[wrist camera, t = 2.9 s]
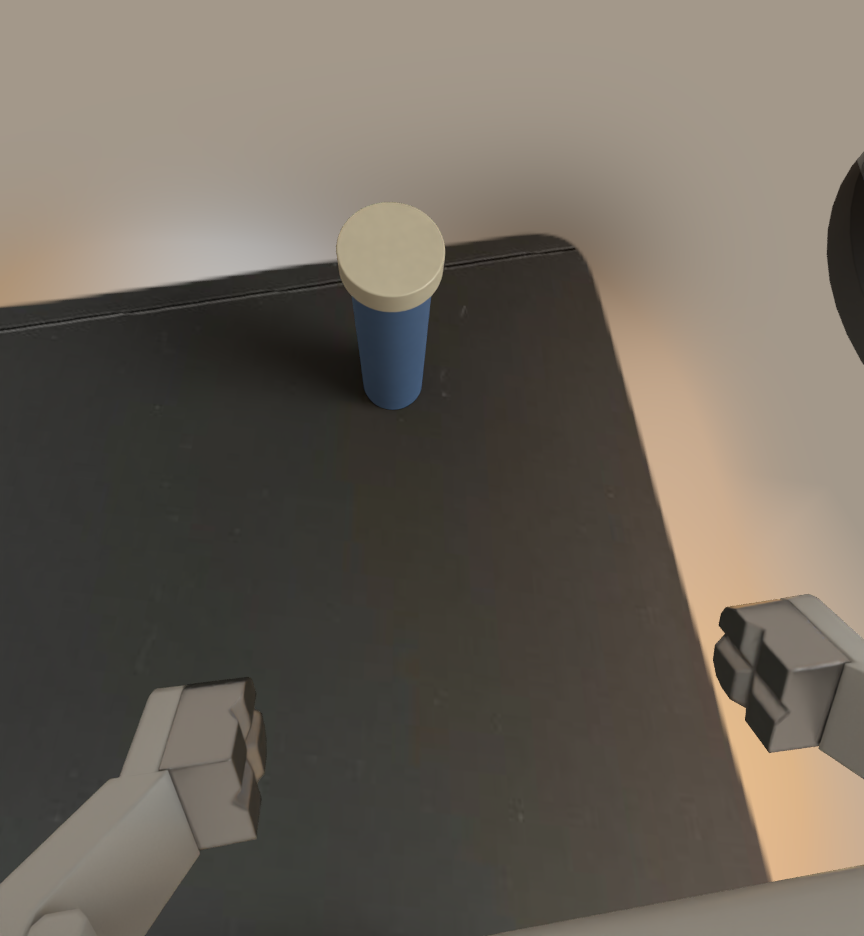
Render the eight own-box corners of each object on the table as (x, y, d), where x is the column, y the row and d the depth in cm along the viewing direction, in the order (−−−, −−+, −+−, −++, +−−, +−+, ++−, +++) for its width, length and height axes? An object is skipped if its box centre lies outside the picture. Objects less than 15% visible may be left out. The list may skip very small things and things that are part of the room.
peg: (423, 347, 30) (438, 197, 20) (432, 412, 29) (451, 291, 19) (354, 353, 30) (331, 204, 19) (360, 419, 29) (340, 301, 19)
